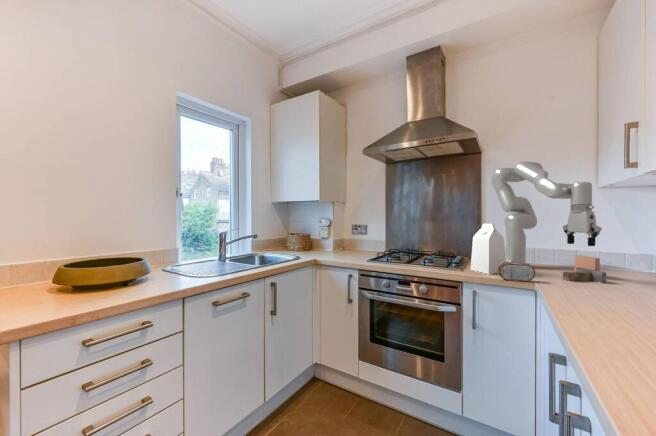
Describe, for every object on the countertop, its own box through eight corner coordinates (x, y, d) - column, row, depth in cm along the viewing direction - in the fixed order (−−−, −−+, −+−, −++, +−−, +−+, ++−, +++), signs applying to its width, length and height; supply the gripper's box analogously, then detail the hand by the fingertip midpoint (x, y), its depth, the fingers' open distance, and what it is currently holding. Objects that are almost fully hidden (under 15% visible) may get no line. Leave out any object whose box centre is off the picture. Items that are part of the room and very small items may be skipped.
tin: (533, 280, 133) (533, 263, 133) (536, 282, 130) (536, 264, 130) (497, 278, 137) (497, 261, 137) (499, 280, 134) (499, 262, 134)
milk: (505, 273, 149) (506, 224, 149) (488, 274, 146) (489, 224, 145) (486, 268, 161) (487, 223, 160) (470, 269, 157) (471, 223, 157)
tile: (594, 278, 137) (595, 258, 137) (574, 274, 147) (574, 255, 147) (599, 278, 137) (599, 258, 137) (578, 274, 147) (579, 255, 147)
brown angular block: (578, 284, 127) (578, 273, 127) (554, 277, 139) (554, 267, 139) (605, 283, 129) (606, 272, 129) (579, 277, 141) (579, 267, 141)
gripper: (608, 208, 125) (607, 246, 125) (570, 208, 142) (570, 242, 142) (593, 208, 124) (592, 247, 124) (557, 208, 141) (556, 243, 141)
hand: (580, 244), depth 133 cm, fingers open, 9 cm apart
